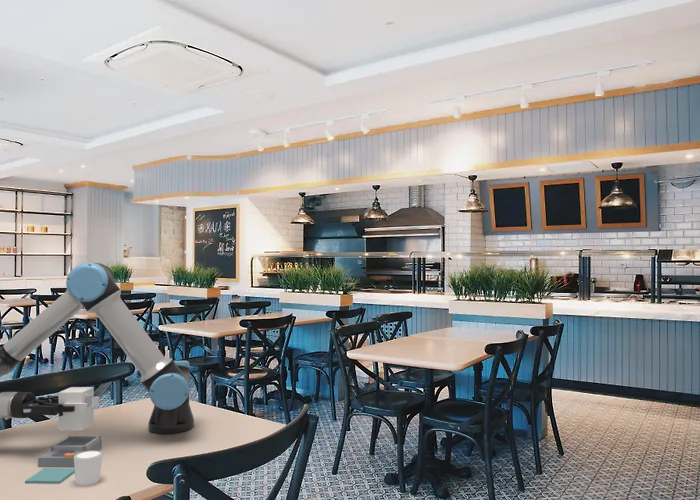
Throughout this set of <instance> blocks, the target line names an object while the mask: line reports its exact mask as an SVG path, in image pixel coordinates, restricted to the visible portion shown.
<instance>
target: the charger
mask: <svg viewBox="0 0 700 500" xmlns="http://www.w3.org/2000/svg"><path fill="white" fill-rule="evenodd" d="M94 390H95V389H94V386H81V387H80V386H71V387H68V388H66V389H63V390H60V391H59V392H58V396H59V404H63V406H64V404H65V403H87V413H64V412H63V416H59V414H57V415H58V417H57V418H58V419H57V420H58V421H57V422H58V423H57V424H58V426H57V429H58V431H83V430H86V429H87V428H88V427H90V426H91V425H94V407H95V406H94V397H95V396H94V395H95V393H94Z"/></svg>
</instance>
